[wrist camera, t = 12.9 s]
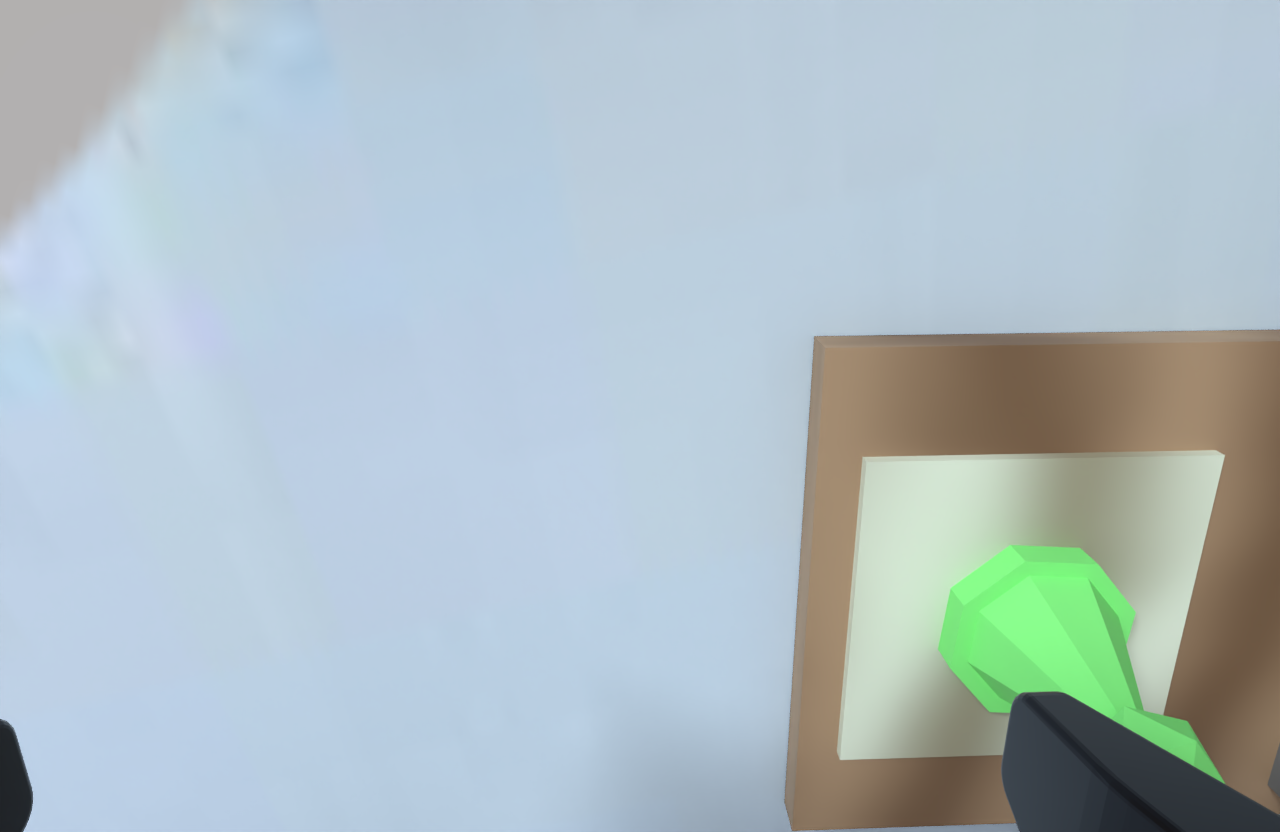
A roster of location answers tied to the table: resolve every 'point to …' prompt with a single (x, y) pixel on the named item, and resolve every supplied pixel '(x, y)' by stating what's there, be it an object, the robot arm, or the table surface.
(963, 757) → the switch board
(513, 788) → the table surface
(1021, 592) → the game piece
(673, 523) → the table surface
